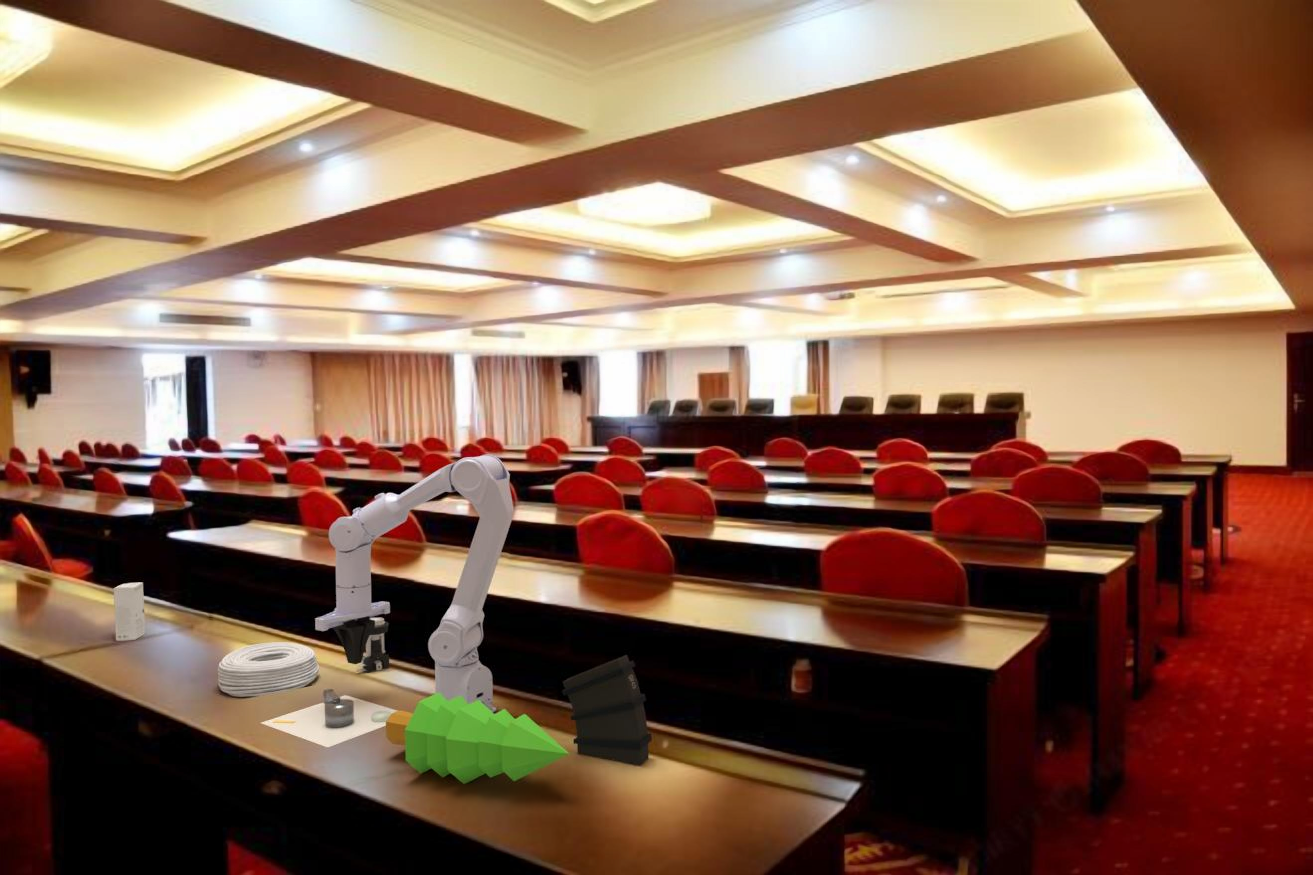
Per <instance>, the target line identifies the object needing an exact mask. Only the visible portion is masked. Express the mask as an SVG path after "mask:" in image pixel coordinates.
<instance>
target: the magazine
mask: <svg viewBox="0 0 1313 875" xmlns="http://www.w3.org/2000/svg"><path fill="white" fill-rule="evenodd" d="M634 667H636V663H635V661H634V660H632V661H630V659H629V657H628V654H625V655H623V656H620V657H618V658H616V659H615V658H614V659H613V660H611V661H607V662H606V663H603V664H600V665H597V666H595V667H593V668H590V669H589V670H586V671H583V672H581V673H578V674H576V675H572V676H571V677H568V678H567V679H566V680H563V681H562V684H563V685H562V686H563V687H564V689H563V690H561V693H562V694H563V696H564V697H565V696H567V697H568V699H569V702H570V705H571V709H572V712H573V714H572V715H571V716H570V721H575V727H576V729H575V730H576V737H575V738H573V744H574V745H577V747H576V748H577V750H576V751H577V753H578V754H580V755H587V756H592V757H596V758H600V759H606V760H610V761H611V760H612V761H616V762H619V763H620V762H621V763H626V764H630V765H635V766H641V765H643V763H645V762H646V761H647V760H648V759H649V757H650V756H649V755H650V753H649V743H651V742H652V740H653V739H652V736H653V735H652V733H649V732H648V724H647V716H646V710H645V706H644V702H646V701H647V697H646V694H645V693H641V690H640V686H639V681H638V679H637V677H636V674H635V670H634V669H633V668H634Z"/></svg>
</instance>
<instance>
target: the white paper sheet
mask: <svg viewBox="0 0 1313 875" xmlns="http://www.w3.org/2000/svg"><path fill="white" fill-rule="evenodd" d="M339 697H340V699H349V700H352V701H353V702H354V722H353V723H351V724H349V725H346V726H342V727H328V726H326V725H325V704H324V703H323V702H319V703H316V704H314V705H311V706H308V707H305V708H302V709H299V710H296V711H292V712H289V713H285V714H284V715H280V716H278V717H275V718H271V719H269V720H265V721H263V722H262V721H261V722H260V724H262V725H264V726H267V727H270V728H272V729H274V730H275V729H276V730H277V731H281V732H283V733H285V734H289V735H292V736H295V737H298V738H300V739H304V740H306V741H308V742H311V743H314V744H317V745H319V746H322V747H325V748H331V747H333V746H336V745H338V744H341V743H344V742H346V741H350V740H351V739H355V738H357V737H360V736H362V735H365V734H367V733H370V732H373V731H376V730H378V729H380V728H381V729H382V728H383V727H386V721H387V719H388V718H389V717H390V715H391V714H392V713H394V712H396V711H398V710H396V709H393V708H390V707H387V706H385V705H380V704H376V703H373V702H370V701H367V700H363V699H360V698H357V697H353V696H350V695H345V694H344V695H342V696H339Z"/></svg>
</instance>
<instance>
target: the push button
mask: <svg viewBox="0 0 1313 875" xmlns="http://www.w3.org/2000/svg"><path fill="white" fill-rule="evenodd" d="M370 619H371V620H375V627H374V628H373V630H372V632H371V634H370V636H369V638H368V640H367V643H366V646H365V653H364V656H363V658H362V662H361V663H362V664H361V663H360V664H357V665H356V666H355V667H356V668H360V667H362V668H361V669H357V670H355V671H356V672H362V671H363V672H365V673H372V672H376V671H381V670H385V669H390V655H389V654H387V653H386V650H385V633H387V632H388V631H389V628H388V627H389V626H390V625H389V624H390V623H389V622H388V621H385V618H383V617H379V616H378V617H377V616H376V617H375V616H373V617H370Z"/></svg>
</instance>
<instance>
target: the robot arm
mask: <svg viewBox="0 0 1313 875" xmlns="http://www.w3.org/2000/svg"><path fill="white" fill-rule="evenodd" d="M510 477H511V474H510V473H509V471H508V469H507V467H506V466H505V464H504V463H503V462H502V460H501V459H500V458H498V457H497V456H495V455H494V454H487V453H486V454H482V455H480V456H470V457H463V458H461V459H459V460H457V461H456V462H453V463H450V464H447V465H445V466H443V467H441V468H439V469H438V470H436V471H434V472H432V473H431V474H430V475H428V476H427V477H425V478H423V479H422V480H420V481H419V482H418V483H415V484H414V485H412V486H411V487H409V488H408V489H406V490H404V491H403V492H401V493H400V494H396V493H394V492H387V493H384V492H381V493H378V494H377V495H375V496H374V499H375V500H373V501H371V502H370V503H369V504H366V505H364V507H360V506H359V507H356V508H354V509H353V510H352V515H350V516H341V517H338V518H337V519H336V520H335V521H333V523H331V525H330V527H329V531H328V539H329V540H328V541H329V542H330V544H331V545H332V547H333V548H334V549H335V595H336V596H335V600H336V601H335V603H336V607H335V608H334V610H333V611H332V612H331V611H330V612H329V613H326V614H324V615H322V616H318V617H316V618H314V621H315V622H314V623H315V624H314V625H315V629H314V630H316V631H319V632H320V631H321V632H325V631H328V630H329V629H333V631H334V632H335V634H336V635H337V637H338V638H339V641H340V643H341V644H342V647H343V651H344V653H345V657H346V660H347V663H348V664H352V665H359V664H361V663H362V658H364V655H365V651H366V643H367V640H368V638H369V636H370V634H371V632H372V630H373V628H374V627H375V620H371V619H370V618H373V617H375V616H376V617H377V616H379V615H382V614H383V615H388V614H390V613H391V604H390V602H389V601H383V600H382V601H378V602H377V601H376V602H372V577H371V575H372V571H371V570H372V564H371V563H372V562H371V560H372V559H371V558H372V557H371V556H372V555H371V554H372V553H371V552H372V545H373V543H374V542H375V540H376V539H378V538H379V537H381V536H382V535H384V534H387V533H388V532H389V531H391V530H393V529H395V528H397V527H398V526H400V525H401V524H404V523H405V522H407V519H408V517H409V513H410V511H411V510H413V509H415V508H417V507H419V506H420V505H422V504H424V503H426V502H428V501H430V500H432V499H433V498H435V497H437V496H439V495H441V494H443V493H445V492H447V493H454V492H458V493H459V494H460V495H461V496H462V497H463V498H465V499H466V501H468V502H469V503H470V504H471V505H472V506H473V508H474V509H475V510H474V511H476V513H477V514H478V516H479V520H478V523H477V526H476V529H475V532H474V535H473V538H472V541H471V543H470V546H469V547H470V548H469V550H468V552H467V556H466V559H465V562H464V565H463V568H462V570H461V571H462V572H461V575H460V577H459V581H458V584H457V586H456V589H455V592H454V595H453V598H452V601H451V604H450V605H449V608H448V609H447V611H446V612H445V614H444V615H443V617H442V618H441V620H440V624H439V626H438V628H436V630H434V631H433V633H431V635H430V637H429V639H428V642H427V646H428V647H427V648H428V652H429V654H430V656H431V658H432V659H433V660H434V673H435V674H434V676H435V678H434V680H435V682H434V683H435V684H434V687H435V692H434V693H435V694H436V693H440V694H441V695H442V696H443V697H444V698H445V699H446V700H447V701H449V700H451V699H454V698H456V697H458V696H461V697H462V698H463V699H464V700H465V701H466V702H467V703H468V704H471V703H473V702H475V701H477V700H479V701H481V702H482V703H483V704H484V705H485V706H486V707H487V708H488V709H489V710H490V711H492V712H493V713H495V712H496V711H497V707H494V701H493V698H494V696H493V692H494V691H493V689H494V688H493V686H494V685H493V674H492V671H491V670H490V668H488V667H487V666H485V665H483V664H482V663H481V661H480V660H479V652H478V647H479V646H480V645H481V644H482V641H483V639H484V630H483V629H484V628H483V623H484V618H485V613H484V611H483V608H484V605H485V602H486V599H487V596H488V592H489V589H490V587H491V583H492V580H493V579H494V578H493V577H494V574H495V572H496V568H497V566H498V563H499V560H500V556H501V553H502V550H503V547H504V545H505V542H506V538H507V535H508V532H509V530H510V529H509V528H510V526H511V523H512V521H513V518H514V513H515V510H514V504H513V499H512V497H513V496H512V493H511V488H510Z"/></svg>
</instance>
